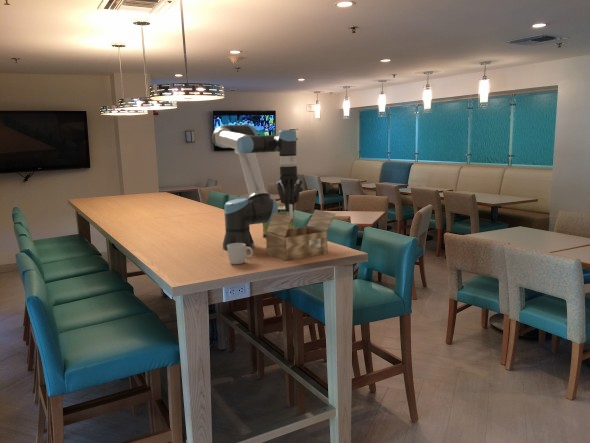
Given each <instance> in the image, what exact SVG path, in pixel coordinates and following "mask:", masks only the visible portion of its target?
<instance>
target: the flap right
mask: <svg viewBox="0 0 590 443" xmlns="http://www.w3.org/2000/svg"><path fill="white" fill-rule="evenodd" d="M335 217H336V213H335V212H331V211H324V210H321V209H320V210H319V209H314V211H313V213H312V215H311V217H310V218H309V221H308V222H307V224H306V227H311V228H315V229H319V230H323V231H326V232H328V230H329V228H330V226H331V223H332V222H333V220H334V219H335Z"/></svg>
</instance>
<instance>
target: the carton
mask: <svg viewBox="0 0 590 443" xmlns="http://www.w3.org/2000/svg"><path fill="white" fill-rule="evenodd" d="M265 238H266V239H265V241H266V242H265V243H266V254H268V255H270V256H272V257H275V258H277V259H280V260H283V261H284V262H286V261H292V260H293V261H294V260H298V259H303V258H304V259H305V258H310V257H313V256H314V257H315V255H316V256H321V255H325V254H326V253H327V254H328V231H326V230H322V229H318V228H314V227H310V226H302V227H294V228H292V229H288V231H287V234H286V237H285V236H281V235H278V234H275V233H272V232H266V237H265ZM320 254H321V255H320ZM309 256H310V257H309Z"/></svg>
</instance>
